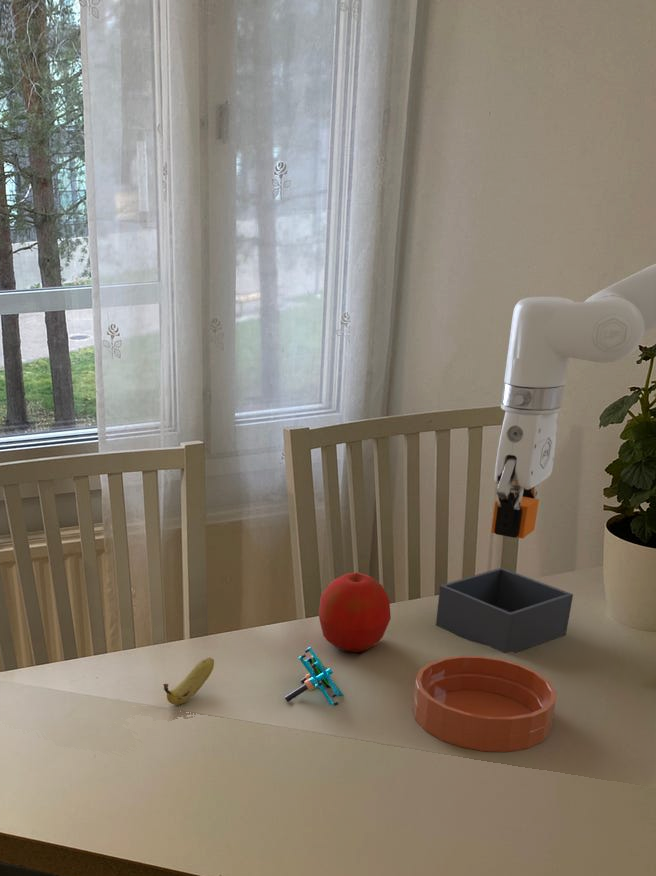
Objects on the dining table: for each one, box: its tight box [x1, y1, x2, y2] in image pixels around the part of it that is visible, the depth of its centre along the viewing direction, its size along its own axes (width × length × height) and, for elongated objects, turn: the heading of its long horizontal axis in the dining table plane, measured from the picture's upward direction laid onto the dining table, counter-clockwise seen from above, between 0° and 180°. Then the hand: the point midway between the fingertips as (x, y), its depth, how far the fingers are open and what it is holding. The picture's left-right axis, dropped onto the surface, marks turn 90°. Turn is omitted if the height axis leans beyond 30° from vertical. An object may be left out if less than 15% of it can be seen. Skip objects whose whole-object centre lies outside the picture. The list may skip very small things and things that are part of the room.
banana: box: [163, 657, 215, 706], centre depth 119 cm, size 10×2×4 cm, turn 141°
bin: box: [435, 567, 574, 654], centre depth 135 cm, size 13×13×6 cm
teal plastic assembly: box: [284, 646, 345, 706], centre depth 120 cm, size 12×7×8 cm
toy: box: [490, 494, 540, 540], centre depth 126 cm, size 4×4×4 cm
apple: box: [318, 572, 391, 653], centre depth 131 cm, size 10×10×12 cm
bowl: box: [412, 655, 557, 753], centre depth 112 cm, size 16×16×5 cm
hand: (513, 529), depth 127 cm, fingers closed on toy, 4 cm apart
